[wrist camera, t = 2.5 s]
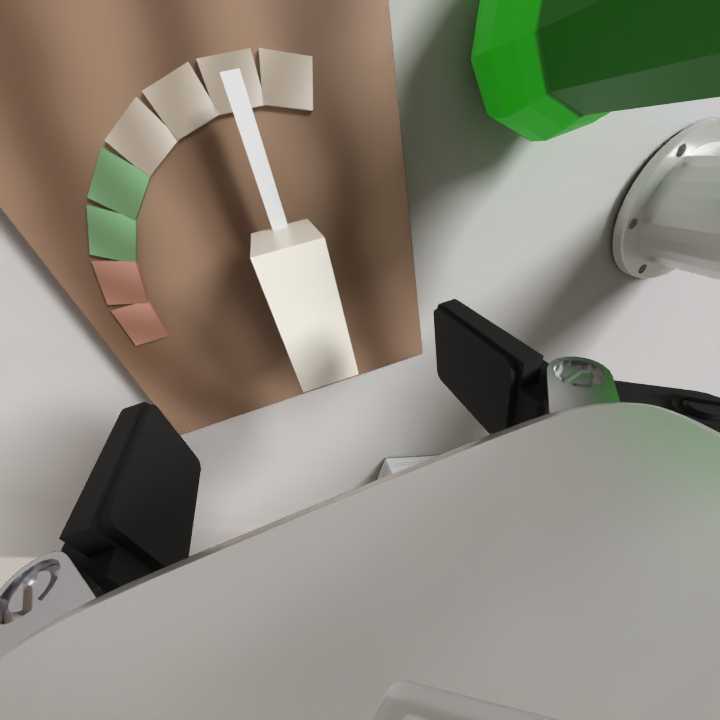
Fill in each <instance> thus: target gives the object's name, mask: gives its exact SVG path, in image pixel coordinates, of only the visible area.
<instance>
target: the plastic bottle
mask: <svg viewBox="0 0 720 720" xmlns="http://www.w3.org/2000/svg"><path fill="white" fill-rule="evenodd" d="M471 63H472V66H473V69H474V73H475V76H476V79H477V83H478V86H479V89H480V93H481V96H482V99H483V103H484V106H485V109H486V112H487V114H488V115H489V116H490V117H492V118H493V119H494V120H496V121H498V122H499V123H501V124H503V125H504V126H506V127H508V128H509V129H511V130H513V131H514V132H516V133H518V134H519V135H521V136H523V137H524V138H526V139H528V140H529V141H545V140H548V139H551V138H553V137H556V136H559V135H561V134H564V133H567V132H569V131H572V130H574V129H577V128H580V127H582V126H585V125H588V124H590V123H593V122H594V121H596V120H598V119H599V118H601V117H603V116H604V115H606V114H608V113H609V112H611V111H618V110H625V109H633V108H640V107H647V106H655V105H662V104H669V103H676V102H684V101H691V100H698V99H706V98H713V97H720V0H480V1H479V8H478V14H477V21H476V28H475V34H474V41H473V47H472V54H471Z"/></svg>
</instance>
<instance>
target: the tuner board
mask: <svg viewBox="0 0 720 720" xmlns="http://www.w3.org/2000/svg"><path fill="white" fill-rule="evenodd" d="M237 68H240V71H241V74H242V78H243V81H244V84H245V87H246V91H247V94H248V97H249V100H250V104H251V107H252V110H253V113H254V117H255V120H256V123H257V126H258V130H259V133H260V136H261V139H262V143H263V146H264V149H265V152H266V156H267V159H268V162H269V165H270V169H271V172H272V175H273V178H274V182H275V185H276V188H277V191H278V195H279V198H280V201H281V204H282V208H283V211H284V214H285V217H286V221H287V224H288V223H292V222H296V221H300V220H303V219H308V220H309V221H310V222H311V223H312V224H313V225H314V226H315V227H316V228H317V230H318V231H319V232H320V233H321V234H322V235H323V236H324V237H325V241H326V245H327V249H328V253H329V257H330V261H331V265H332V269H333V273H334V277H335V281H336V285H337V289H338V293H339V297H340V301H341V305H342V309H343V313H344V317H345V321H346V325H347V329H348V333H349V337H350V341H351V345H352V349H353V353H354V357H355V361H356V365H357V369H358V373H359V374H358V375H360V374H363V373H366V372H369V371H372V370H375V369H378V368H381V367H384V366H387V365H390V364H393V363H396V362H399V361H402V360H405V359H408V358H411V357H414V356H417V355H420V354H423V353H422V343H421V333H420V322H419V312H418V302H417V291H416V281H415V271H414V260H413V250H412V240H411V229H410V219H409V209H408V198H407V188H406V178H405V167H404V157H403V147H402V136H401V126H400V116H399V105H398V95H397V85H396V74H395V64H394V54H393V43H392V33H391V23H390V12H389V2H388V0H0V208H1V209H2V210H3V211H4V213H5V214H6V215H7V217H8V218H9V219H10V220H11V222H12V223H13V224H14V226H15V227H16V228H17V229H18V231H19V232H20V233H21V235H22V236H23V237H24V238H25V240H26V241H27V242H28V244H29V245H30V246H31V247H32V249H33V250H34V251H35V253H36V254H37V255H38V256H39V258H40V259H41V260H42V261H43V263H44V264H45V265H46V267H47V268H48V269H49V270H50V272H51V273H52V274H53V276H54V277H55V278H56V279H57V281H58V282H59V283H60V285H61V286H62V287H63V288H64V290H65V291H66V292H67V294H68V295H69V296H70V297H71V299H72V300H73V301H74V303H75V304H76V305H77V306H78V308H79V309H80V310H81V312H82V313H83V314H84V315H85V317H86V318H87V319H88V320H89V322H90V323H91V324H92V326H93V327H94V328H95V329H96V331H97V332H98V333H99V335H100V336H101V337H102V338H103V340H104V341H105V342H106V344H107V345H108V346H109V347H110V349H111V350H112V351H113V353H114V354H115V355H116V356H117V358H118V359H119V360H120V362H121V363H122V364H123V365H124V367H125V368H126V369H127V371H128V372H129V373H130V374H131V376H132V377H133V378H134V380H135V381H136V382H137V383H138V385H139V386H140V387H141V388H142V390H143V391H144V392H145V394H146V395H147V396H148V397H149V399H150V400H151V401H152V403H153V404H154V405H156V406H157V407H158V408H159V409H160V411H161V412H162V413H163V414H164V416H165V417H166V418H167V420H168V421H169V422H170V423H171V425H172V426H173V427H174V429H175V430H176V431H177V432H178V434H179V435H181V434H184V433H187V432H190V431H193V430H196V429H199V428H202V427H205V426H208V425H211V424H214V423H217V422H220V421H223V420H226V419H229V418H232V417H235V416H238V415H241V414H244V413H247V412H250V411H253V410H256V409H259V408H262V407H265V406H268V405H271V404H274V403H277V402H280V401H283V400H286V399H289V398H292V397H295V396H298V395H301V394H304V393H307V392H310V391H313V390H316V389H319V388H322V387H325V386H328V385H330V384H328V385H325V386H322V387H319V388H316V389H313V390H310V391H307V392H304V393H303V391H302V388H301V385H300V383H299V380H298V378H297V375H296V373H295V370H294V368H293V365H292V363H291V360H290V358H289V355H288V353H287V350H286V347H285V345H284V342H283V340H282V337H281V335H280V332H279V330H278V327H277V325H276V322H275V320H274V317H273V315H272V312H271V309H270V307H269V304H268V302H267V299H266V297H265V294H264V292H263V289H262V287H261V284H260V282H259V279H258V277H257V274H256V271H255V269H254V266H253V264H252V261H251V259H250V248H251V233H255V232H258V231H262V230H266V229H270V228H272V227H271V224H270V221H269V218H268V215H267V212H266V209H265V206H264V203H263V200H262V197H261V194H260V191H259V188H258V185H257V182H256V179H255V176H254V173H253V170H252V167H251V165H250V162H249V159H248V156H247V153H246V150H245V147H244V144H243V141H242V138H241V135H240V132H239V129H238V126H237V123H236V120H235V117H234V114H233V111H232V108H231V105H230V102H229V99H228V96H227V93H226V90H225V87H224V84H223V81H222V78H221V75H220V72H222V71H227V70H232V69H237ZM355 376H357V375H355ZM352 377H354V376H352ZM349 378H351V377H349ZM346 379H348V378H346ZM343 380H345V379H343ZM340 381H342V380H340ZM337 382H339V381H337ZM334 383H336V382H334ZM331 384H333V383H331Z"/></svg>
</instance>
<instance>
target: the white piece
mask: <svg viewBox="0 0 720 720" xmlns="http://www.w3.org/2000/svg"><path fill="white" fill-rule="evenodd" d="M220 75H221V78H222V81H223V84H224V87H225V90H226V93H227V96H228V99H229V102H230V105H231V108H232V111H233V114H234V117H235V120H236V123H237V126H238V129H239V132H240V135H241V138H242V141H243V144H244V147H245V150H246V153H247V156H248V159H249V162H250V165H251V167H252V170H253V173H254V176H255V179H256V182H257V185H258V188H259V191H260V194H261V197H262V200H263V203H264V206H265V209H266V212H267V215H268V218H269V221H270V224H271V227H272V228H270V229H266V230H262V231H258V232H255V233H251V248H250V259H251V261H252V264H253V266H254V269H255V271H256V274H257V277H258V279H259V282H260V284H261V287H262V289H263V292H264V294H265V297H266V299H267V302H268V304H269V307H270V309H271V312H272V315H273V317H274V320H275V322H276V325H277V327H278V330H279V332H280V335H281V337H282V340H283V342H284V345H285V347H286V350H287V353H288V355H289V358H290V360H291V363H292V365H293V368H294V370H295V373H296V375H297V378H298V380H299V383H300V385H301V388H302V391H303V393H304V392H307V391H310V390H313V389H316V388H319V387H322V386H325V385H328V384H331V383H334V382H337V381H340V380H343V379H346V378H349V377H352V376H355V375H358V374H359V373H358V369H357V365H356V361H355V357H354V353H353V349H352V345H351V341H350V337H349V333H348V329H347V325H346V321H345V317H344V313H343V309H342V305H341V301H340V297H339V293H338V289H337V285H336V281H335V277H334V273H333V269H332V265H331V261H330V257H329V253H328V249H327V245H326V241H325V237H324V236H323V235H322V234H321V233H320V232H319V231H318V230H317V228H316V227H315V226H314V225H313V224H312V223H311V222H310V221H309V220H308V219H303V220H300V221H296V222H292V223H288V224H287V221H286V217H285V214H284V211H283V208H282V204H281V201H280V198H279V195H278V191H277V188H276V185H275V182H274V178H273V175H272V172H271V169H270V165H269V162H268V159H267V156H266V152H265V149H264V146H263V143H262V139H261V136H260V133H259V130H258V126H257V123H256V120H255V117H254V113H253V110H252V107H251V104H250V100H249V97H248V94H247V91H246V87H245V84H244V81H243V78H242V74H241V71H240V68H237V69H232V70H227V71H222V72H220Z"/></svg>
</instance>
